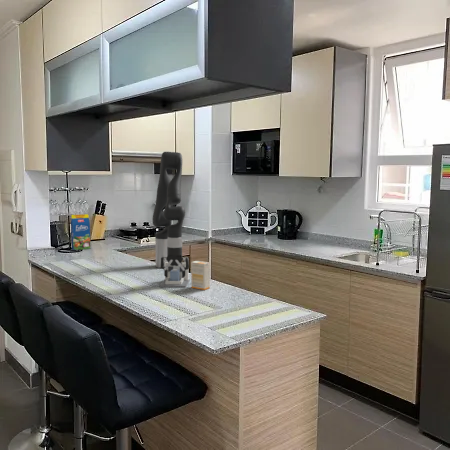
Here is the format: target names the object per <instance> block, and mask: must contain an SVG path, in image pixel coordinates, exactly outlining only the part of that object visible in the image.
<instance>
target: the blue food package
mask: <svg viewBox="0 0 450 450" xmlns="http://www.w3.org/2000/svg"><path fill="white" fill-rule="evenodd" d="M70 238H71V239H70V240H71V250H72V251H75V250H76V251H78V250H88V249H91V248H92V247H91V223H90V217H89V214H88V213H86V214H85V213H84V214H71V219H70Z"/></svg>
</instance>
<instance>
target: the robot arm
mask: <svg viewBox="0 0 450 450" xmlns="http://www.w3.org/2000/svg"><path fill="white" fill-rule="evenodd" d="M167 170H175V174H174V176H173V178H171V177H170V176H169V175H168V172H167ZM182 173H183V155H182V153H181V152H176V151H163V152H162V154H161V155H160V168H159V179H158V184H157V190H156V198H155V199H156V200H155V205H154V209H153V214H152V226H154V227H156V228H163V229H162V230H161V231H158V232H156V233H155V235H154V237H155V239H154V240H155V241H154V242H155V267H156V268H158V269H160V270H163V275H164V277H165V276H166V277H168V270H167V268H168V267H169V266H170V265H171V266H178V265H179V266H180V267H181V269H182V278H184V277H185V270H187V269H188V270H189V268H190V261H189V260H190V259H189V257H188V256H186V257H184V256H183V238H182V237H183V236H182V235H183V232H182V230H183V229H182V228H183V222H184V221H185V220H184V219H185V216H186V209H185V208H184V206H180V203H181V201H182V196H181V195H182V191H181V186H182V185H181V184H182ZM176 205H177V206H176ZM178 205H179V206H178ZM163 209H164V210H163ZM173 221H177V222H176V223H174V224H172V222H173ZM183 261H184V263H186V267H184V265H183V264H182V263H183ZM165 262H168V264H167V265H166V267H165Z"/></svg>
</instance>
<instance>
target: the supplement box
mask: <svg viewBox="0 0 450 450" xmlns="http://www.w3.org/2000/svg"><path fill="white" fill-rule="evenodd" d="M210 264H211V263H210V262H207V261H201V260H195V261H194V260H193V261H191V263H190V265H191V267H190V268H191V270H190V271H191V275H190V276H191V278H190V279H191V283H190V286H191V288H192V289H197V290H201V291H206V290H209V289H210V287H211V286H210V285H211V282H210V281H211V280H210V279H211V277H210V275H211V274H210V270H211V269H210V266H211V265H210Z"/></svg>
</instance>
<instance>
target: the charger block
mask: <svg viewBox="0 0 450 450" xmlns="http://www.w3.org/2000/svg"><path fill="white" fill-rule="evenodd" d="M170 281H179V270H177V269H173V270H171V271H170Z"/></svg>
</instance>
